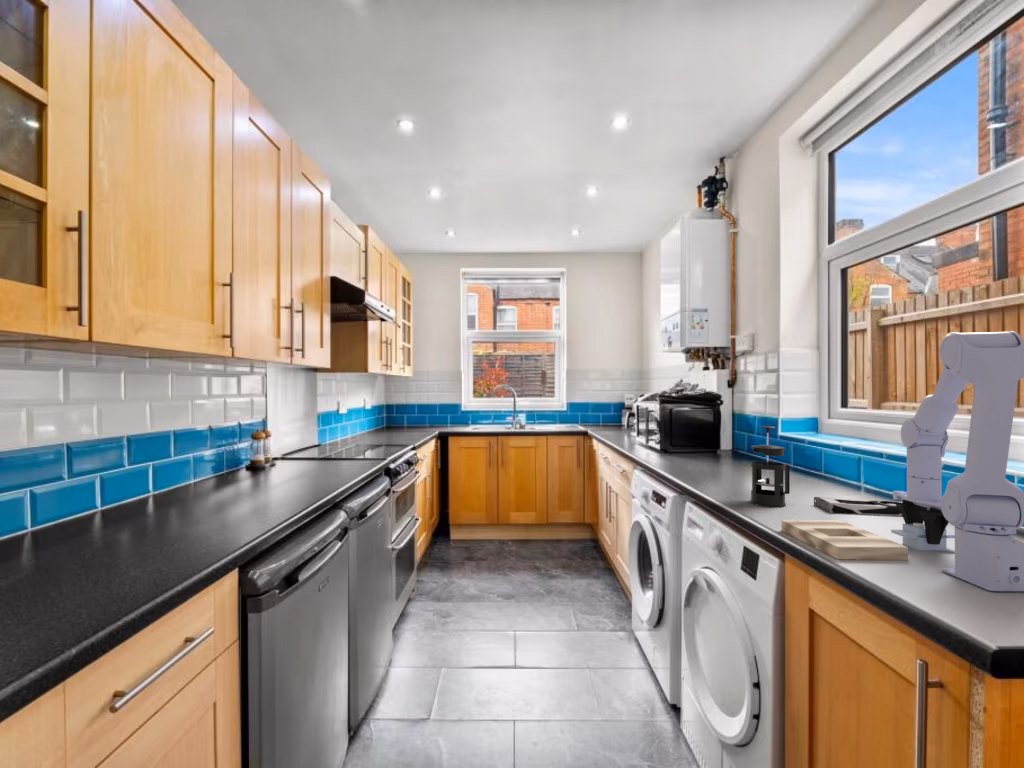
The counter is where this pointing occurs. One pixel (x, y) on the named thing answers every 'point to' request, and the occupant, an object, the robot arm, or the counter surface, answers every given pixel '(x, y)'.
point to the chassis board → (844, 540)
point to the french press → (768, 496)
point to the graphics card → (858, 506)
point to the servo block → (920, 537)
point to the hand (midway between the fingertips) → (924, 540)
